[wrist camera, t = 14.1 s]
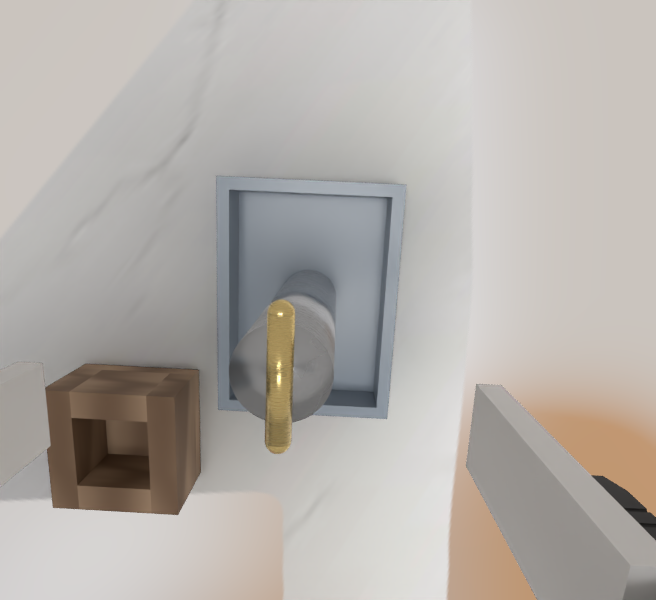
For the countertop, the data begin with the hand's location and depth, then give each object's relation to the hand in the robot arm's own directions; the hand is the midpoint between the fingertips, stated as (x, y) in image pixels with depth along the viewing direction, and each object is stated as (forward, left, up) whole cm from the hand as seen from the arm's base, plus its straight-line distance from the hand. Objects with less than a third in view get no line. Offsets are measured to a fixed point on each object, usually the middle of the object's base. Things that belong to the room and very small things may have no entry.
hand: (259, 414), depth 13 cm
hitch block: (-13, -11, -19) cm, 25 cm away
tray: (0, 0, -19) cm, 19 cm away
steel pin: (0, 0, -18) cm, 18 cm away
